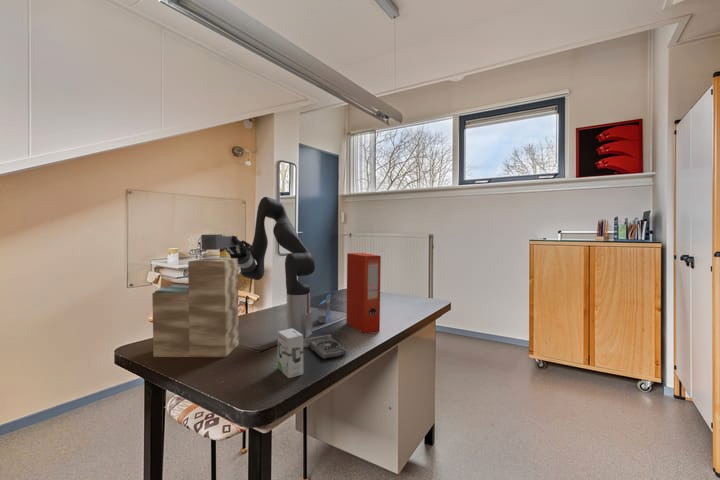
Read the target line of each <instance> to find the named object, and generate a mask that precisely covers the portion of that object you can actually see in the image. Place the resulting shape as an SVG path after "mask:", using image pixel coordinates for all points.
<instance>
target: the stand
mask: <svg viewBox="0 0 720 480" xmlns="http://www.w3.org/2000/svg"><path fill="white" fill-rule="evenodd" d="M187 265H188V267H187V269H188V270H187V271H188V273H187V274H188V277H187V279H188V280H187V281H188V285H182V284H181V285H171V286H166V287H164V288H160V289H158V290H155V291H154V292H152V294H151V295H152V296H151V297H152V300H151V301H152V344H153V345H152V346H153V347H152V348H153V350H152V352H153V353H152V354H153V358H226V357H228V355H229V354H230V353H232V351H233V350H234V349H236V348H237V347H238V346H239V343H240V342H239V334H240V332H239V331H240V330H239V329H240V328H239V266H238V258H231V257H229V258H228V257H227V258H226V257H225V258H224V257H222V258H220V257H218V258H217V257H216V258H214V257H209V258H208V257H205V258H204V257H203V258H200V259H194V260H190V261H189V260H188V261H187Z"/></svg>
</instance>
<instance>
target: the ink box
mask: <svg viewBox="0 0 720 480" xmlns="http://www.w3.org/2000/svg"><path fill="white" fill-rule="evenodd" d="M277 370H279V371H280V372H281V373H282V374H283V375H284V376H286V377H287V378H288V379H291V378H295V377H298V376H301V375H304V347H303V335H302V334H301V333H299V332H298V331H296V330H294V329H293V328H291V329H287V328H286V329H284V330H278V331H277Z"/></svg>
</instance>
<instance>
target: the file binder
mask: <svg viewBox="0 0 720 480" xmlns="http://www.w3.org/2000/svg"><path fill="white" fill-rule="evenodd" d="M346 255H347V256H346V260H347V261H346V262H347V263H346V269H347V270H346V324H347V325H349V326H351V327H353V329H355V330H357V331H358V332H360V333H362V334H363V333H364V335H366V334H365V333H367V334H372V333H371V332H375V333H379V332H380V330H381V329H380V327H381V326H380V324H381V267H382V265H381V263H382V261H381V260H382V257H381V255H378V254H377V255H376V254H373V253H371V254H370V253H364V252H350V253H349V252H347V253H346ZM378 331H379V332H378Z"/></svg>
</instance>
